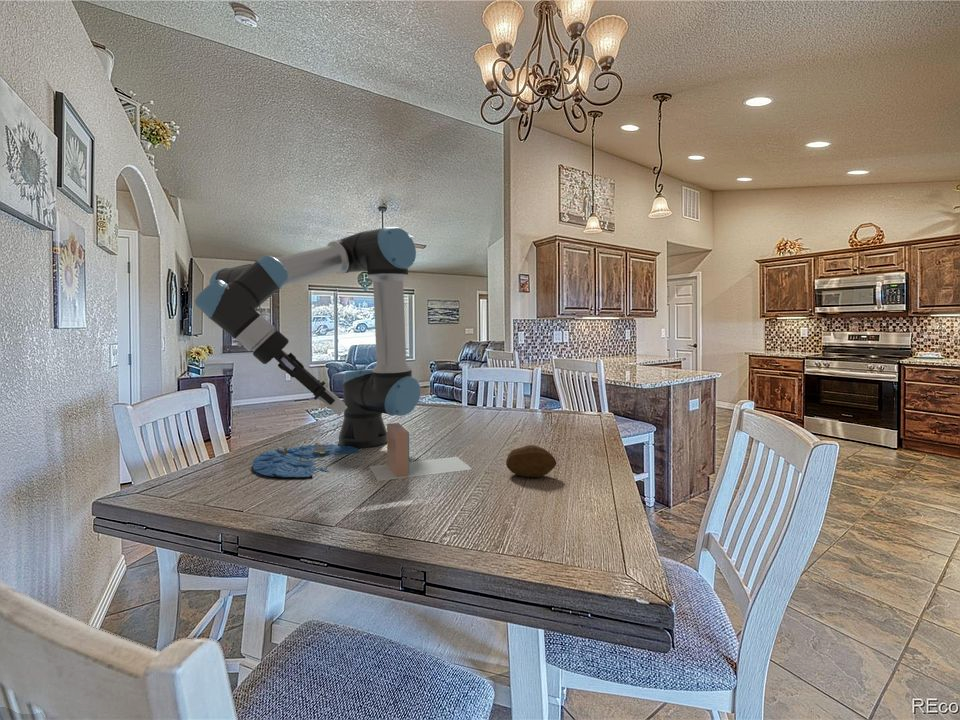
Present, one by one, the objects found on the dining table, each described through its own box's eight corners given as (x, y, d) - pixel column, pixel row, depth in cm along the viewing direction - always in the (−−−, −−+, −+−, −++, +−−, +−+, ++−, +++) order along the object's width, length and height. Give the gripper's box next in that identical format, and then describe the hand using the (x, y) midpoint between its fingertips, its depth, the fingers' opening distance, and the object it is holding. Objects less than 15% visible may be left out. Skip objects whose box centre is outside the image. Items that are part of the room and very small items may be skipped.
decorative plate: (382, 454, 142) (382, 436, 142) (343, 486, 113) (344, 465, 112) (288, 446, 145) (289, 430, 145) (227, 477, 116) (227, 456, 115)
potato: (505, 470, 122) (505, 440, 121) (553, 471, 122) (554, 441, 121) (506, 480, 114) (506, 449, 113) (557, 481, 114) (558, 450, 113)
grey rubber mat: (369, 469, 122) (369, 466, 122) (456, 459, 131) (456, 456, 131) (377, 484, 111) (377, 480, 111) (472, 472, 120) (472, 469, 120)
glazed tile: (387, 465, 123) (387, 423, 122) (400, 464, 124) (400, 422, 123) (395, 477, 114) (395, 432, 113) (409, 475, 115) (409, 431, 114)
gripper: (253, 350, 112) (327, 414, 120) (248, 355, 96) (334, 429, 103) (276, 328, 114) (348, 392, 121) (275, 329, 97) (358, 403, 105)
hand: (341, 409), depth 112 cm, fingers open, 4 cm apart
